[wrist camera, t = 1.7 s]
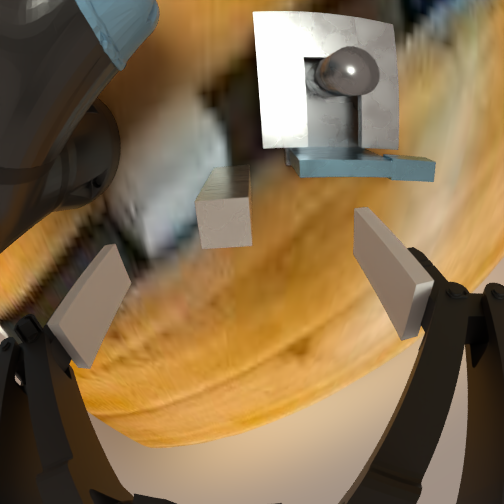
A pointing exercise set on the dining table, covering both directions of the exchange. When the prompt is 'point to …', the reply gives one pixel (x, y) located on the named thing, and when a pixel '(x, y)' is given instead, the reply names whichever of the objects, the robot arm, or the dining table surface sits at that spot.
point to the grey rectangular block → (225, 208)
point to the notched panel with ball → (332, 95)
